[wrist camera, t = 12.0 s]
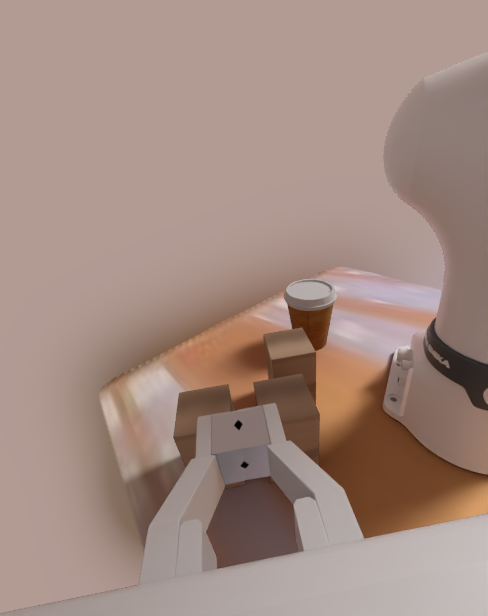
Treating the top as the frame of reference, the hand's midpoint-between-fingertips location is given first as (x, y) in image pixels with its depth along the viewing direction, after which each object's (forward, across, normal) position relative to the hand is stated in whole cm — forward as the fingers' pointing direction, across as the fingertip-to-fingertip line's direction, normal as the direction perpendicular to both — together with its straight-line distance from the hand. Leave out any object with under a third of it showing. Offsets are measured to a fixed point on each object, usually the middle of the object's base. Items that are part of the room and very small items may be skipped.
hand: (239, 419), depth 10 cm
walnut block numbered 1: (+14, -4, +26) cm, 30 cm away
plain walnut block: (+14, +5, +26) cm, 30 cm away
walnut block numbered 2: (+23, -7, +26) cm, 36 cm away
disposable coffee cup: (+36, -15, +26) cm, 47 cm away
